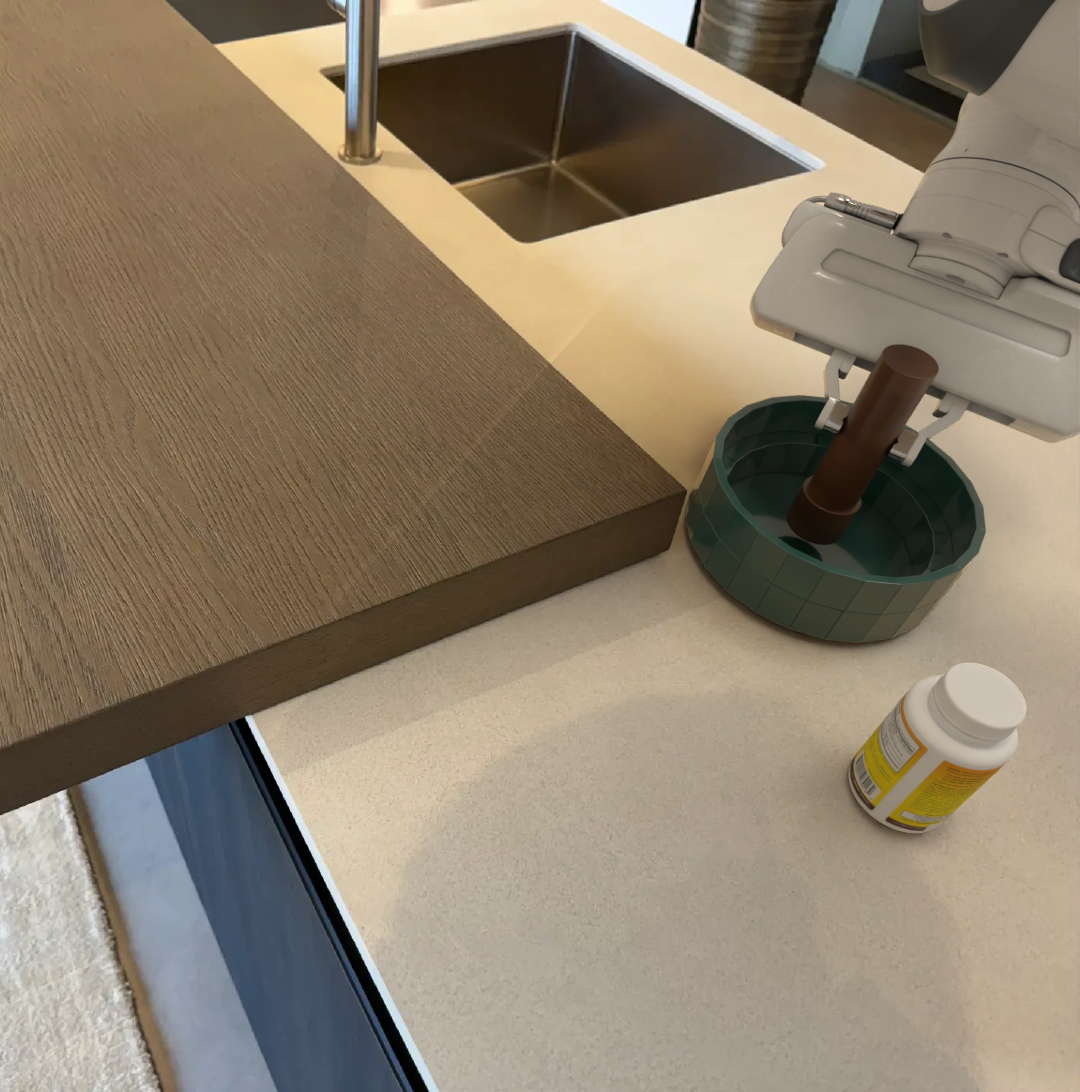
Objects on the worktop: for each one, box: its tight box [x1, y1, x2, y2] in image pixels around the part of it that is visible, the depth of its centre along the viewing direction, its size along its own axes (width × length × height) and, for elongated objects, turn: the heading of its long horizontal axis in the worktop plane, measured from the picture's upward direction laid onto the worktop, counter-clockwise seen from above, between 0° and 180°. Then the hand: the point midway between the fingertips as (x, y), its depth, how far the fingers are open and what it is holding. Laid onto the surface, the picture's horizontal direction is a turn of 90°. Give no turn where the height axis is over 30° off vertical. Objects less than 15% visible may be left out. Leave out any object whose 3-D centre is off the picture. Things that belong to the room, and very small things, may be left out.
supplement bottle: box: [848, 662, 1027, 834], centre depth 56 cm, size 6×6×10 cm
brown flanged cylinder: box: [786, 344, 939, 545], centre depth 65 cm, size 4×4×14 cm
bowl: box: [685, 394, 987, 644], centre depth 69 cm, size 17×17×6 cm
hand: (861, 445), depth 64 cm, fingers closed on brown flanged cylinder, 3 cm apart
